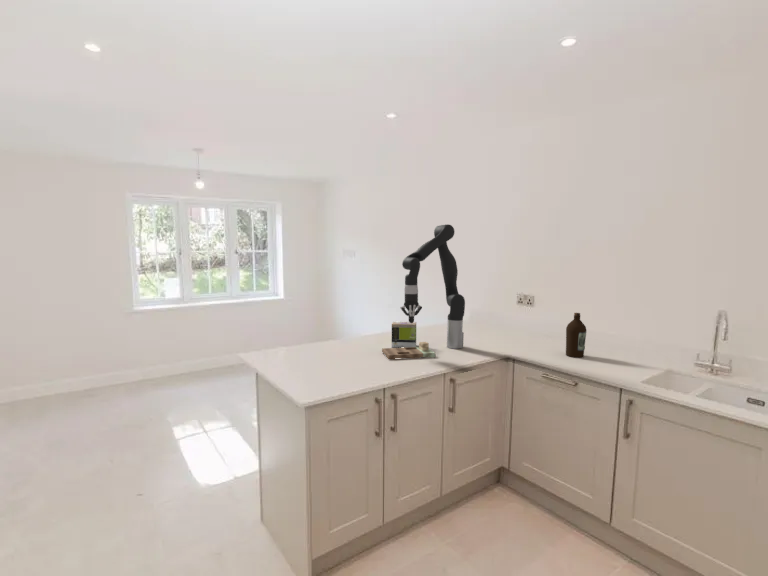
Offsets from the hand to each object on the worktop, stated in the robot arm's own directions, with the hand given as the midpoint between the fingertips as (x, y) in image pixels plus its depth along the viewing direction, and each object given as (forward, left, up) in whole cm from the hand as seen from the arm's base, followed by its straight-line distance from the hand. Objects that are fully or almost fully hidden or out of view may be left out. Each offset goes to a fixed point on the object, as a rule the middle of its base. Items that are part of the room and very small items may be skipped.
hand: (411, 322), depth 242 cm
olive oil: (-92, +22, -18) cm, 97 cm away
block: (-7, +2, -16) cm, 17 cm away
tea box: (-1, -18, -18) cm, 26 cm away
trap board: (+2, +2, -18) cm, 18 cm away
